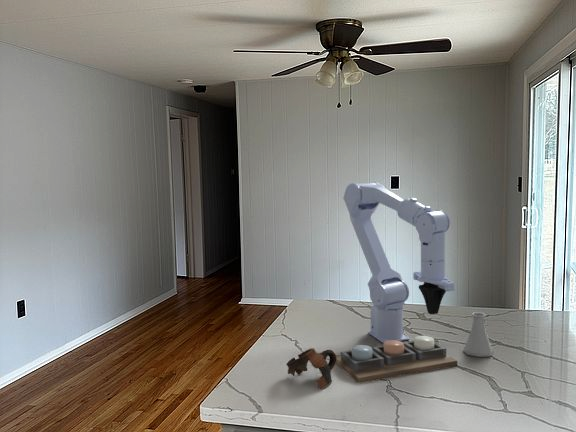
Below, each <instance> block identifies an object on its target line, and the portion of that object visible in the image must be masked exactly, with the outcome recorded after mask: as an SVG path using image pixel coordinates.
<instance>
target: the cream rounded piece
mask: <svg viewBox="0 0 576 432" xmlns="http://www.w3.org/2000/svg"><path fill="white" fill-rule="evenodd" d="M413 341H414V347H415V348H417V349H418V350H420V351H423V350H429V349H434V342H435V338H434V337H432V336H428V335H417V336H415V337H413Z"/></svg>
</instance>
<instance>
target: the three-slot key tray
mask: <svg viewBox="0 0 576 432" xmlns="http://www.w3.org/2000/svg"><path fill="white" fill-rule="evenodd" d="M402 342H403V343H404V354H399V355H392V356H389V355H387V354H386V353H384V344H383V345H377V346H372V347H371V348H372V359H368V360H362V361H355V360H354V359H353V358H352V349H351V350H345V351H340V354H336V363H335V365H338V367H339V368H340V369H342V370H343V371H344V372H345V373H346V374H347V373H348V375H349V376H350V377H351V378H352V379H353V380H354V381H355V382H357V383H358V384H361V383H368V382H372V381H377V380H384V379H389V378H394V377H400V376H406V375H411V374H419V373H422V372H428V371H433V370H434V371H435V370H439V369H445V368H450V367H451V368H452V367H456V366H458V360H457V359H455V358H453V357H451V356H450V355H449V354H447V347H445V346H443V345H441V344H439V343H438V342H436V341H434V349H429V350H423V351H420V350H418V349H417V348H415V347H414V340H411V341H409V340H408V341H402Z"/></svg>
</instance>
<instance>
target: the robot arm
mask: <svg viewBox="0 0 576 432" xmlns="http://www.w3.org/2000/svg"><path fill="white" fill-rule="evenodd" d="M344 190H345V191H344V194H343V200H344V203H345V206H346V208H347V211H348V213H349V220H350V222H351V224H352V226H353V230H354V232H355V236H356V237H357V240H358V242H359V245H360V247H361V250H362V253H363V255H364V258H365V260H366V262H367V265H368V268H369V270H370V273H371V278H370V279H369V281H368V282H367V287H368V289H369V297H370V301H371V302H372V304H373V305H372V307H371V308H370V330H368V331H367V333H368V335H371V337H373V338H375V339H377V340H378V341H379V342H381V343H382V344H384V342H385V341H389V340H396V341H401V342H404V341H407V340H408V341H409V340H410V337H409V336H408V335H405V334H404V306H405V302H406V301H407V300H408V299H409V296H410V288H409V286H408V283H406V282H405V281H404V279H403V278H402V276H401V274H400V273H399V272H398V271H396V270H394V269H393V268H392V267H391V265H390V262H389V261H388V258H387V256H386V255H387V254H386V253H385V251H384V248H383V245H382V243H381V241H380V238H379V235H378V233H377V230H376V228H375V225H374V223H373V222H372V221H373V220H372V215H373V214H374V213H375V212H376V210H377V208H378V206H379V205H380V204H381V205H383V206H385V207H388V208H390V209H392V210H394V211H396V212H397V216H398V218H399V219H401V220H403V221H404V222H407V223H408V224H410V225H412V226H413V227H415V229H416V232H417V233H418V240H419V241H420V271H413V274H412V275H413V280H414V281H417V282H420V283H423V284H419V285H418V289H419V291H420V292H421V295H422V297H423V299H424V303H425V307H426V310H427V311H426V312H427V313H428V314H429V315H437V314H439V310H440V307H441V303H442V300H443V299H444V296H445V294H446V293H447V292H455V282H454V281H451V280H450V279H448V278H447V276H446V273H445V272H446V269H445V268H446V266H445V265H446V257H445V256H446V249H445V248H446V243H445V242H446V238H445V237H446V236H445V235H446V234H445V233H446V232H447V231H448V230H449V229H450V226H451V222H450V217H449V216H448V214H447V213H446V212H444V211H443V210H442V209H437V210H433V209H432V207H431V206H429V205H424V204H422V203H420V202H418V198H416V197H409V198H405V199H403V198H401V197H400V196H398V195H397V194H396V193H394V192H392V191H390V190H389V189H387V188H386V187H385V186H384V184H381V183H379V182H376V181H372V182H363V183H362V182H361V183H360V182H359V183H354V182H353V183H349V184H348V185H347V186H346V188H345V189H344Z"/></svg>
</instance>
